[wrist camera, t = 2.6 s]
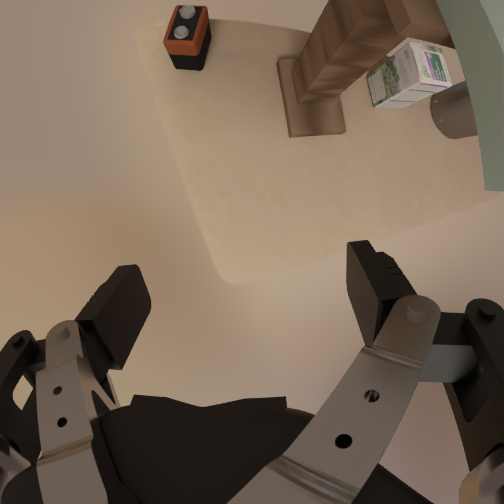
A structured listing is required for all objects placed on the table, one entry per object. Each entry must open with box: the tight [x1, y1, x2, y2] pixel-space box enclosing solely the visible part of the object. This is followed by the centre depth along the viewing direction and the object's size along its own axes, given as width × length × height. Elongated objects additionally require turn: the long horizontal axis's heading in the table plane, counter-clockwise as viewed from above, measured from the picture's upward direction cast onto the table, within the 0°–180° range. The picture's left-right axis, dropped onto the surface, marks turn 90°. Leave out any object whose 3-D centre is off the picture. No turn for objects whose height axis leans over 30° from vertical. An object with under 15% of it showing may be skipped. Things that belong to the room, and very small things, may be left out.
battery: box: [163, 5, 211, 71], centre depth 32 cm, size 4×7×10 cm, turn 170°
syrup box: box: [367, 42, 452, 109], centre depth 32 cm, size 6×6×14 cm
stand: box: [276, 0, 455, 138], centre depth 23 cm, size 8×12×32 cm, turn 8°
